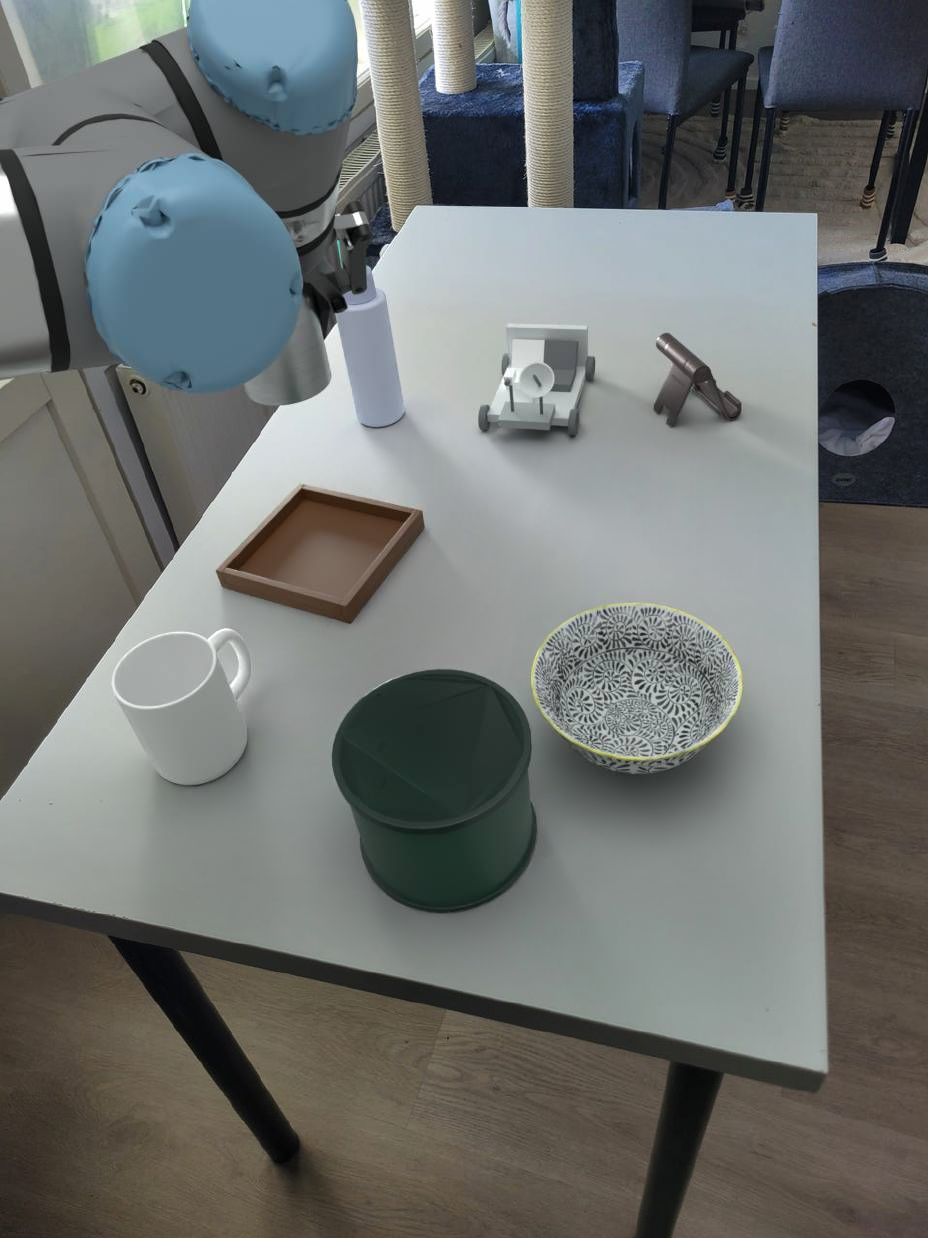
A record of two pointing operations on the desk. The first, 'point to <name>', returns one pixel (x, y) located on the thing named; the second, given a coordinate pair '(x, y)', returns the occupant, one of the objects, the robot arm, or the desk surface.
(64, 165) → the robot arm
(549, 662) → the bowl
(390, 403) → the spray bottle
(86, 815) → the desk surface
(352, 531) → the tray
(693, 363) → the tablet stand
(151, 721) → the cup
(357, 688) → the desk surface
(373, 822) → the bucket
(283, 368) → the silver cup
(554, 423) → the toy car
